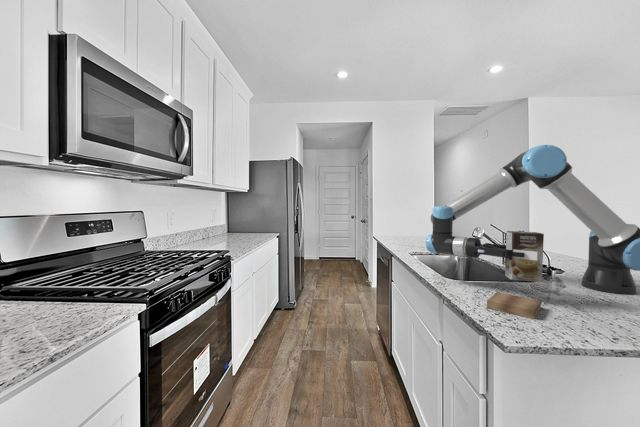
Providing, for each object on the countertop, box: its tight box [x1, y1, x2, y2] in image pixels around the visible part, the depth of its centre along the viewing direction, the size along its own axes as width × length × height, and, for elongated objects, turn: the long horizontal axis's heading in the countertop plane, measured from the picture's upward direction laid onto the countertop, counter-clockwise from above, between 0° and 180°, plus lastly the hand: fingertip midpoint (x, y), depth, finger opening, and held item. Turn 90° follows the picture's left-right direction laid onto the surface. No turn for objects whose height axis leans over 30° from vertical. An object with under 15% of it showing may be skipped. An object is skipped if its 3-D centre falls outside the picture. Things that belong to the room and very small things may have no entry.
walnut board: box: [486, 291, 542, 320], centre depth 91 cm, size 12×12×2 cm
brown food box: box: [504, 230, 545, 283], centre depth 100 cm, size 9×6×16 cm
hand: (539, 254), depth 97 cm, fingers closed on brown food box, 9 cm apart
